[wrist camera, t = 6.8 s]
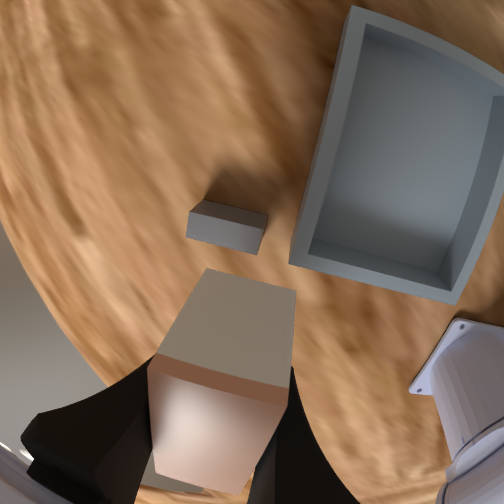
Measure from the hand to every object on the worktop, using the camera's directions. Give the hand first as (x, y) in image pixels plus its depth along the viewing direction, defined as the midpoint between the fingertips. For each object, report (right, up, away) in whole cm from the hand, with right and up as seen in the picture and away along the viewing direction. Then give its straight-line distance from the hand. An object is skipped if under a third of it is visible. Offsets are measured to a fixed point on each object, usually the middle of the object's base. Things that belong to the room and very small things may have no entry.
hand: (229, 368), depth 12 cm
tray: (+10, +10, +4) cm, 14 cm away
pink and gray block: (0, +1, +1) cm, 1 cm away
